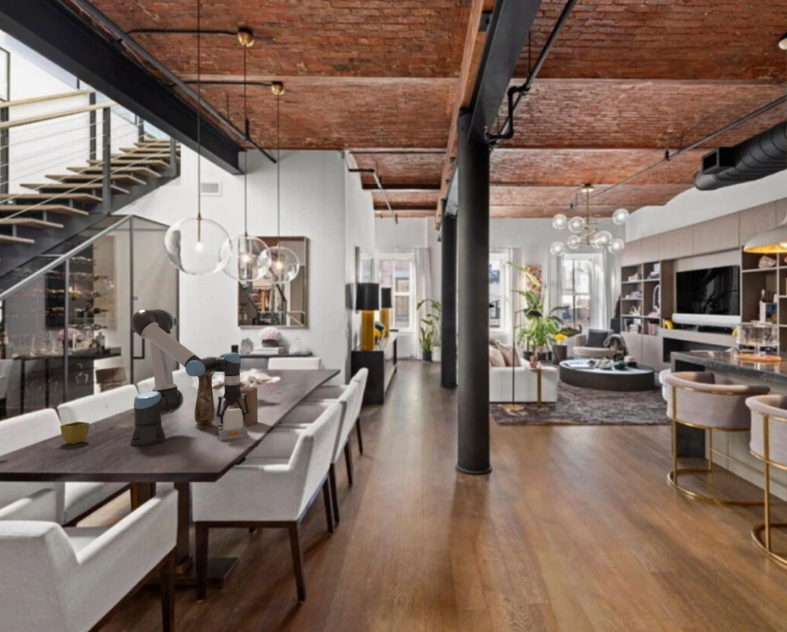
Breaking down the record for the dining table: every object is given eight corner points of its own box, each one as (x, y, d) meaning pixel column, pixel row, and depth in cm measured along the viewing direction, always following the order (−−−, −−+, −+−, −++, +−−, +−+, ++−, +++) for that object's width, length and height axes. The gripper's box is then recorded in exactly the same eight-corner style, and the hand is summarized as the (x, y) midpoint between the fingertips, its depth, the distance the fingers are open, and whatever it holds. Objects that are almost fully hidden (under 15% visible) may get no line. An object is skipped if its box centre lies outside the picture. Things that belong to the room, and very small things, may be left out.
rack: (220, 441, 223) (220, 416, 223) (217, 433, 237) (217, 410, 237) (247, 437, 228) (247, 414, 228) (242, 430, 243) (242, 407, 242)
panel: (225, 433, 227) (224, 411, 226) (224, 431, 230) (224, 409, 230) (241, 431, 230) (241, 409, 230) (240, 429, 233) (240, 408, 233)
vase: (202, 423, 258) (201, 370, 257) (219, 424, 256) (218, 370, 255) (190, 428, 248) (189, 373, 247) (208, 429, 245) (207, 373, 245)
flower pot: (59, 443, 220) (59, 425, 220) (78, 439, 229) (77, 421, 228) (72, 445, 217) (71, 427, 217) (90, 440, 225) (89, 422, 225)
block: (258, 421, 261) (257, 386, 261) (251, 426, 251) (250, 390, 251) (241, 421, 262) (241, 386, 262) (233, 425, 252) (233, 389, 252)
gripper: (210, 386, 222) (211, 433, 222) (255, 383, 231) (255, 428, 231) (209, 384, 228) (210, 429, 229) (252, 381, 238) (253, 424, 238)
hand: (233, 428), depth 230 cm, fingers closed on panel, 8 cm apart
